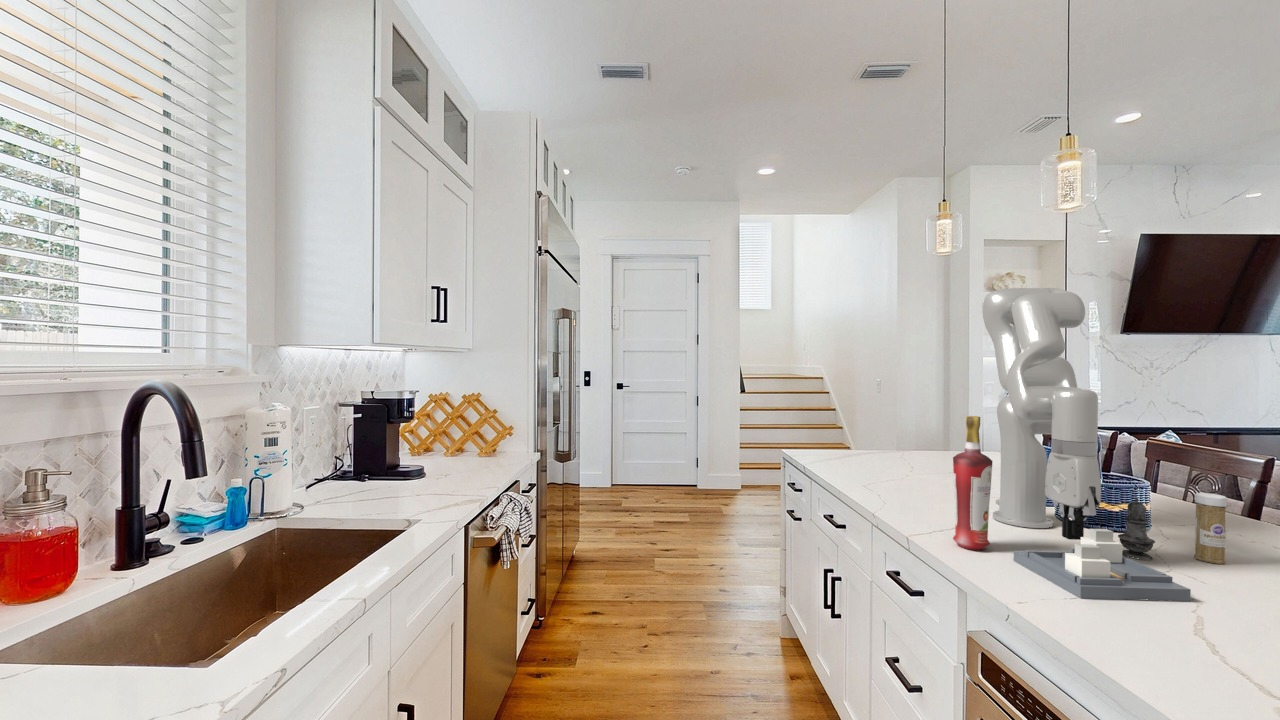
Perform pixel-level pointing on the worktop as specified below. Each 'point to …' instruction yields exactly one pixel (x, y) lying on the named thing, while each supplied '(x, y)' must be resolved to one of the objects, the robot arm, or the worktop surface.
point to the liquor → (972, 491)
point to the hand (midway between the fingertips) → (1072, 538)
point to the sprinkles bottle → (1210, 528)
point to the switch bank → (1122, 583)
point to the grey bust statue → (1136, 533)
